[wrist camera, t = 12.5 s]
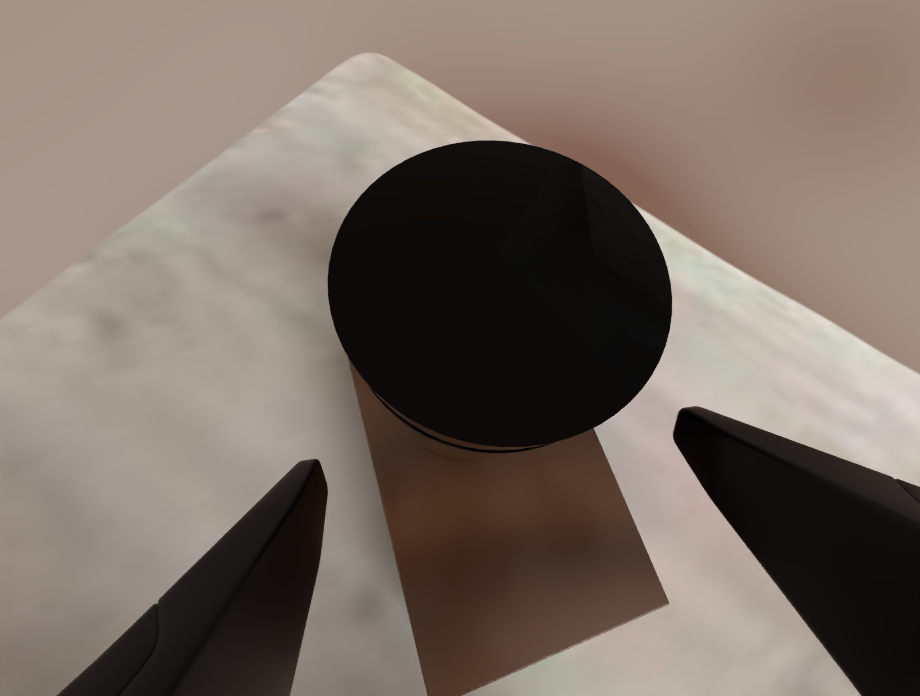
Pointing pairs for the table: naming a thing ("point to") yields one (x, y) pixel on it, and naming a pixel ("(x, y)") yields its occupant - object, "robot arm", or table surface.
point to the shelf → (505, 551)
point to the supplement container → (498, 297)
